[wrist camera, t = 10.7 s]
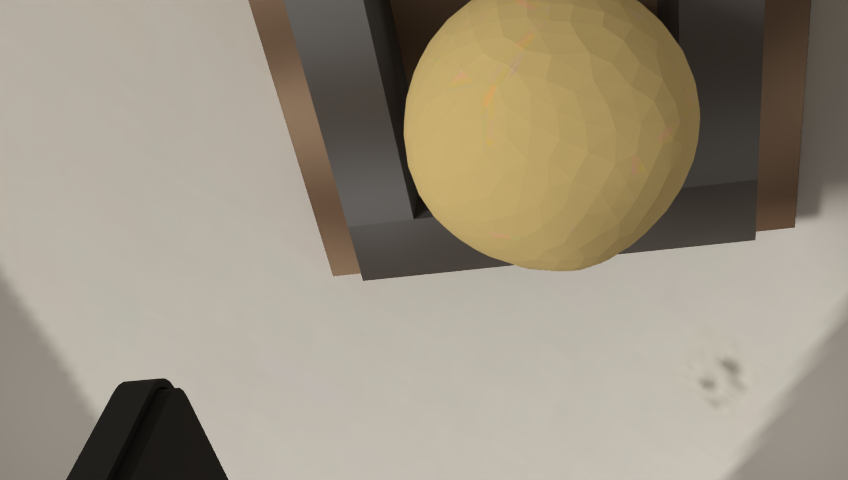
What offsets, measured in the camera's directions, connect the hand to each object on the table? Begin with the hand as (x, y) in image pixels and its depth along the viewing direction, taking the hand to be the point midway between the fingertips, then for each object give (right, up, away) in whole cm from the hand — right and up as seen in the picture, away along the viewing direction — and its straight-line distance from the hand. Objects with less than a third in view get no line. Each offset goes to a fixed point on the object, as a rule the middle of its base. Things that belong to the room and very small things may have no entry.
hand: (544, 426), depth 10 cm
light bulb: (+2, +9, +14) cm, 16 cm away
